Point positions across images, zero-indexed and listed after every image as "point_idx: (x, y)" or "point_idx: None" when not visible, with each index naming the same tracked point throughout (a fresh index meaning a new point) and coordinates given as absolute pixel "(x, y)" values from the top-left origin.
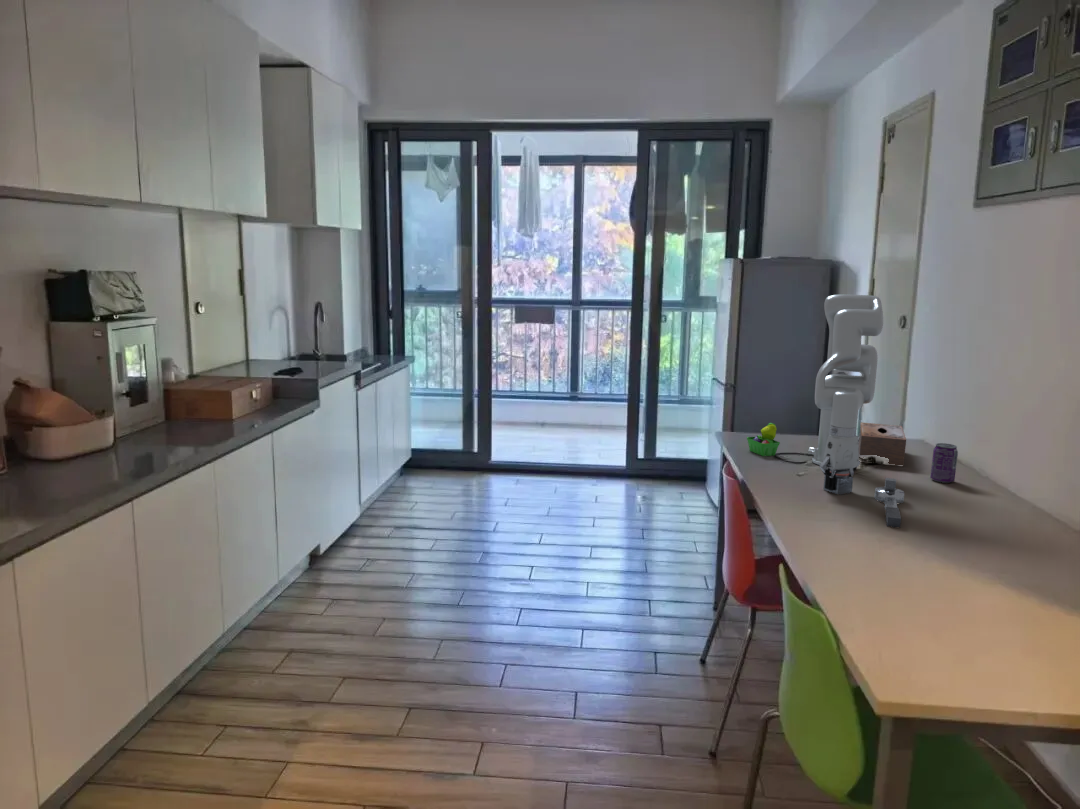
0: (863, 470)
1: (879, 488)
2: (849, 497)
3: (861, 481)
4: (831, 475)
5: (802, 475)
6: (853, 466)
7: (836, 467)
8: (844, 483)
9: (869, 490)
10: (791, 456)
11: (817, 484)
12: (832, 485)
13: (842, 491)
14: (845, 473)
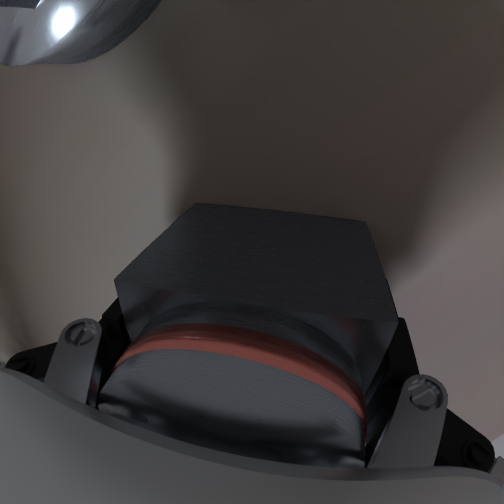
0: (10, 357)
1: (49, 22)
2: (329, 115)
3: (35, 312)
4: (430, 407)
5: None
6: (22, 401)
7: (495, 500)
8: (279, 263)
9: (53, 196)
10: None
11: None
12: None
13: (307, 224)
14: (251, 369)
